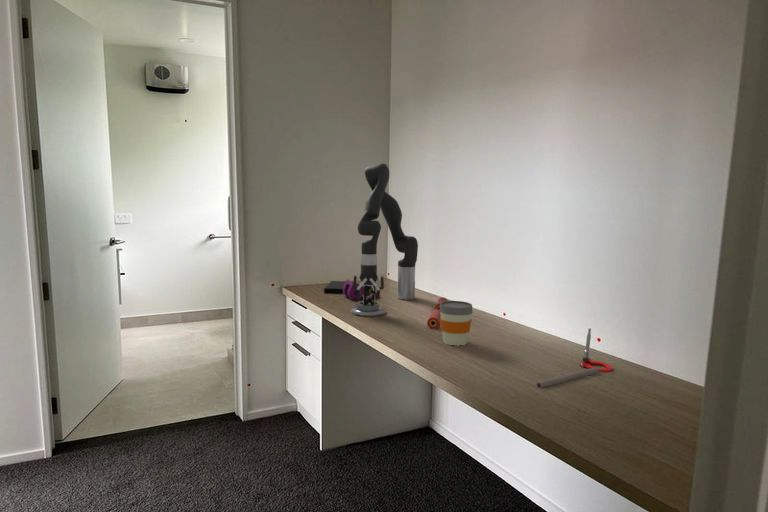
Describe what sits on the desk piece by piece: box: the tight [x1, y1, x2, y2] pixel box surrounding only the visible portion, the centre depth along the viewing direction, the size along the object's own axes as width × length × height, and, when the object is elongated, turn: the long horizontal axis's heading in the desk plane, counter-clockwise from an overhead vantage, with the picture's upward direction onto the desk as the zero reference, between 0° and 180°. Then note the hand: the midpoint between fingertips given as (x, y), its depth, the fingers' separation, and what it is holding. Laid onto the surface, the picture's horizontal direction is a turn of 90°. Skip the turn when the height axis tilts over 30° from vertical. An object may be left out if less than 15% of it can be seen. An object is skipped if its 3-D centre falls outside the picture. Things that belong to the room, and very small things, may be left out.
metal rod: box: [536, 366, 600, 389], centre depth 163 cm, size 2×27×2 cm, turn 122°
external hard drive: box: [323, 280, 346, 294], centre depth 297 cm, size 14×23×3 cm, turn 176°
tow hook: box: [579, 328, 613, 373], centre depth 173 cm, size 8×13×9 cm
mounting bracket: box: [343, 279, 377, 300], centre depth 277 cm, size 10×8×18 cm
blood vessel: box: [426, 296, 449, 329], centre depth 239 cm, size 42×5×5 cm, turn 168°
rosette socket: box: [350, 300, 386, 317], centre depth 243 cm, size 16×16×4 cm
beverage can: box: [362, 285, 377, 305], centre depth 243 cm, size 6×6×12 cm
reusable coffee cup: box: [439, 300, 474, 347], centre depth 198 cm, size 13×13×15 cm
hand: (368, 297), depth 243 cm, fingers open, 8 cm apart
